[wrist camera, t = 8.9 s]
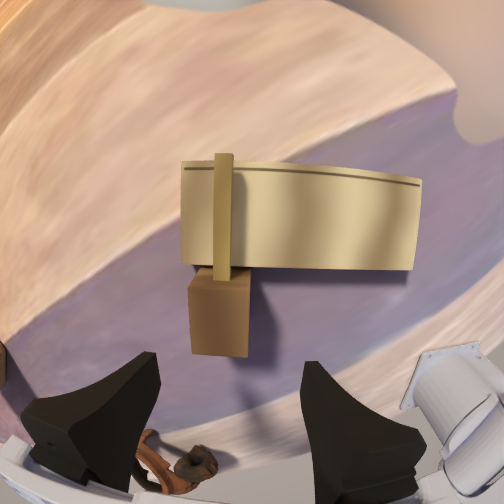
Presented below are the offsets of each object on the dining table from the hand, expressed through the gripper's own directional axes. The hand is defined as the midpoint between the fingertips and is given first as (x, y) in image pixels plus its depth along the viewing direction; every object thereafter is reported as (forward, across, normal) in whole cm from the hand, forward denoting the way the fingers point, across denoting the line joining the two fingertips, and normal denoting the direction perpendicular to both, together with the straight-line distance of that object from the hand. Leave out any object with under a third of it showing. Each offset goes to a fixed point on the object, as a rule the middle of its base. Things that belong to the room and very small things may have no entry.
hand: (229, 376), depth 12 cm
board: (+9, -5, -7) cm, 12 cm away
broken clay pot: (+10, +7, +21) cm, 24 cm away
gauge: (+9, +1, -4) cm, 10 cm away
